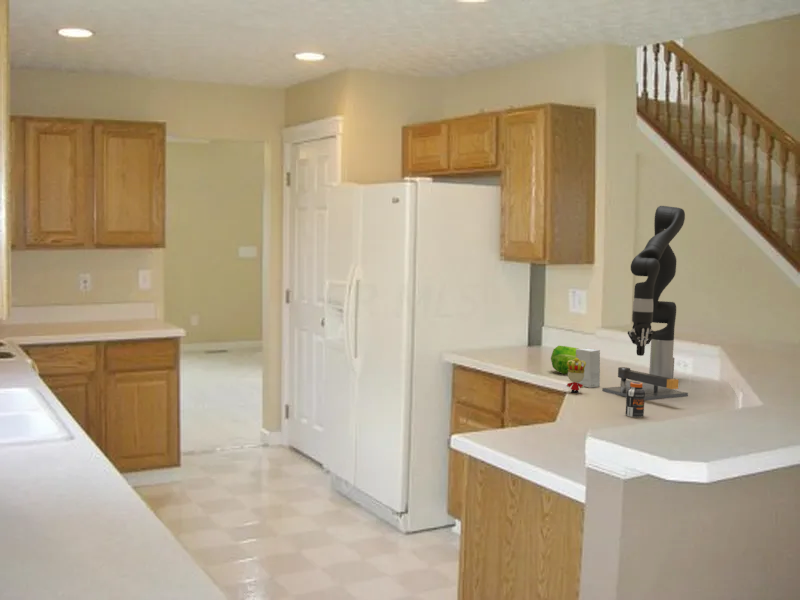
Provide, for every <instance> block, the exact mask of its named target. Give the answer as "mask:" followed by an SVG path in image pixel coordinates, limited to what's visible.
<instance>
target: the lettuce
mask: <svg viewBox="0 0 800 600" xmlns="http://www.w3.org/2000/svg"><path fill="white" fill-rule="evenodd" d="M576 349H580V348H577V347H574V346H566V345H557V346H555V347H554V348H553V350H552V353H551V356H550V361H551V365H552V368H553V369H554V370H555V371H556V372H557V373H560V374H563V375H565V374H567V375H568V365H567V362H568V360H574V359H575V358H576V356H575V355H576ZM571 363H572V361H570V362H569V364H570V366H571ZM575 365H576V363H575Z"/></svg>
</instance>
